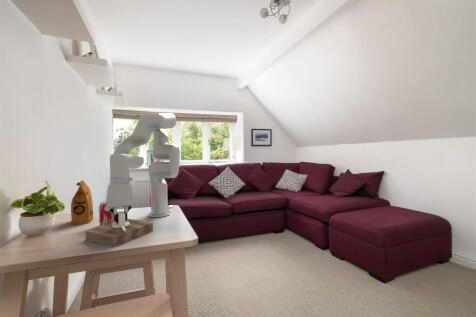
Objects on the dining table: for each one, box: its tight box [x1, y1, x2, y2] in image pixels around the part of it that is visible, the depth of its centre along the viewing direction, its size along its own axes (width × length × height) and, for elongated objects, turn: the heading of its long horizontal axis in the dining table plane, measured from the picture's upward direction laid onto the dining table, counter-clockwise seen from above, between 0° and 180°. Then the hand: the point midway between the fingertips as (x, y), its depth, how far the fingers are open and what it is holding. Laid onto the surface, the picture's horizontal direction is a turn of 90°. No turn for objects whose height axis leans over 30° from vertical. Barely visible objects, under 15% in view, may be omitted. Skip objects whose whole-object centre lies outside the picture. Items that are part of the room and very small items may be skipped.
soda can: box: [98, 200, 114, 227], centre depth 117 cm, size 7×7×12 cm
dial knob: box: [112, 210, 130, 231], centre depth 100 cm, size 13×7×6 cm, turn 36°
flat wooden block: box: [85, 218, 154, 248], centre depth 103 cm, size 20×18×4 cm
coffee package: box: [70, 179, 94, 226], centre depth 124 cm, size 10×12×22 cm
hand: (120, 221), depth 102 cm, fingers closed on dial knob, 2 cm apart
